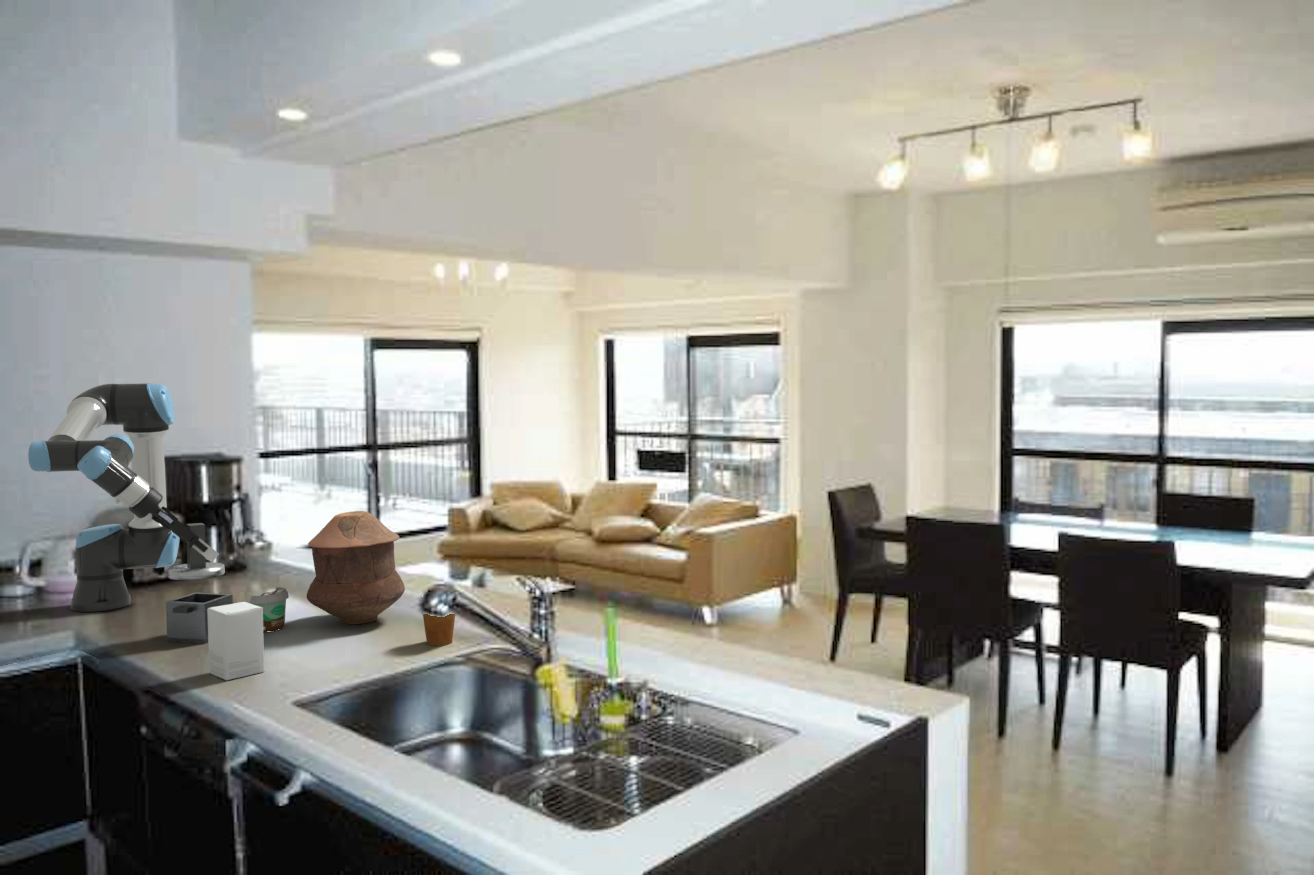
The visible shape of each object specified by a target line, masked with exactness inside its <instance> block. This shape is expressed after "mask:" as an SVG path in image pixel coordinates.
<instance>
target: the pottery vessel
mask: <svg viewBox="0 0 1314 875" xmlns="http://www.w3.org/2000/svg"><path fill="white" fill-rule="evenodd" d="M398 540H400V535H398V534H397V533H395V532H393V530H390V528H388V527H387V526H386V525H385V524H384V523H383V522H382V521H380V520H379V518H377V517H376V516H374V514H373V513H370V512H368V511H367V510H366V511H363V510H355V511H347V512H340V513H338V514H335V515H334V516H333V517H332V518H331V519H330V521H329V522H327V523H326V525H325V526H324V527H323V528H322V529H321V530H319V532H318V533H317V534H316V535H315V536H314V537H313V538H312V539H311V540H310V541H308V543H307V545H308V546H309V547H311V548H312V551H311V552H312V553H311V555H312V560H313V566H314V573H315V577H314V578H313V580H312V582H311V583H310V584H309V587H308V590H307V592H306V599H307V601H308V602H309V604H311V605H313V606H314V607H316V608H319V609H320V610H322V611H323V612H325V613H327V614H329V615H331V616H332V617H334V618H337V619H338V621H339V623H341V624H346V625H360V624H367V623H372V622H374V621H376V620H378V616H379V615H380V614H382V613H383V612H385V611H386V610H388V609H389V608H390V607H391V606H393V605H394V604H395V603H396V602H397V601H398V600H399V599H400V598H401V597H402V596H403V594H404V593H405V591H406V587H405V583H404V582H403V580H402V577H401V576H400V574H399V573H398V572H397V570H396V561H395V542H396V541H398Z"/></svg>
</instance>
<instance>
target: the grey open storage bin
mask: <svg viewBox="0 0 1314 875" xmlns="http://www.w3.org/2000/svg"><path fill="white" fill-rule="evenodd" d="M229 604H234V603H233V594H230V593H215V592H213V593H212V592H210V593H209V592H193V593H189V594H187V595H183V596H180V597H178V598H177V597H176V598H173V599H171V600H167V601H165V611H166V613H165V615H166V617H165V618H166V619H165V620H166V641H167V642H174V641H178V642H177V643H189V642H191V643H190V644H203V645H204V644H205V645H206V644H208V612H207V609H208V608H211V607H216V606H222V605H229Z"/></svg>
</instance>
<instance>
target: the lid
mask: <svg viewBox="0 0 1314 875" xmlns="http://www.w3.org/2000/svg"><path fill="white" fill-rule="evenodd" d="M185 527H187V528H188V529H189V530H190V531H192V532H193V533H194V534H195V535H197V536H199V538H200V539H201V540H203V541H204V542H205V543H206V524H204V523H203V522H198V523H197V522H194V523H186V524H185ZM188 546H189V543H188V542H187V543H186V560H187V561H186V562H187V563H183V564H177V565H174V566H169V568H167V573H168V576H167V578H168V579H170V580H174V581H175V580H176V581H197V580H207V579H213V578H217V577H221V576H223V575H224V574H225V572H226V570H225V569H226V568H225V563H220V562H214V561H212V562H210V561H209V562H206V560H207V559H206V558H205V557H204V556H203V555H202V554H200V553H199V552H198V551H197V550H195V549H194V548H193V547H191V548H189V547H188Z"/></svg>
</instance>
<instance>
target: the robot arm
mask: <svg viewBox="0 0 1314 875" xmlns="http://www.w3.org/2000/svg"><path fill="white" fill-rule="evenodd" d="M66 409H67V410H66V415H65V417H64V418H63V419H62V421H61V422H60V423H59V424H58V426H57V428H55V430H54V431H53V433H52V434H51V436H50V437H49V438H48V440H39V441H37V440H36V441H33V442H31V443H30V445H29V446H28V453H27V454H28V455H27V458H28V459H27V460H28V464H29V467H30V469H31V470H33V471H34V472H47V473H52V472H55V473H56V472H79V471H80V472H81V473H82V474H83V475H84V476H85V478H87V479H88V480H90V481H91V482H93V483H94V484H95V485H97V486H98V487H99V488H101V489H102V490H104V491H105V492H106V493H107V494H109V495H110V496H111V497H112V498H114V499H115V500H114V503H115V504H117V505H119V504H121V505H122V506H123V507H125V508H128V509H129V510H128V511H129V512H131V513H132V514H133V519H132V520H130V522H129V523H128V528H123V526H122V524H120V523H113V524H112V523H111V524H110V523H109V524H103V525H99V526H93V527H89V528H86V529H83V530H80V531H78V532H77V534H76V536H75V546H74V549H75V558H76V559H75V563H76V565H75V566H76V568H75V569H76V583H75V587H74V591H73V594H72V598H71V599H70V610H71V611H73V612H80V613H92V612H93V613H94V612H95V613H96V612H104V611H113V610H116V609H121V608H124V607H128V606H130V605H131V604H132V602H131V601H132V600H131V594H130V592H129V590H128V587H127V584H126V581H125V579H124V570H132V569H133V570H134V569H152V568H155V569H158V568H166V567H172V565H174V564H175V562H176V560H177V556H178V553H179V546H180V540H181V541H183V542H184V543H186V544H187V542H188V543H189V546H188V547H189V548H191V547H193V548H194V549H195V550H197V551H198V552H199V553H200V554H202V555H203V556H204V557H205V558H206V560H208V561H209V562H214V561H215V559H216V558H217V557H218V556H219V555H220V553H218V551H217V550H215V549H214V548H213V547H211V546H210V545H209V544H208V543H206V541H205V542H204V541H203V540H201V539H200V538H199V536H197V535H195V534H194V533H193V532H192V531H190V530H189V529H188V528H187V527H186V525H184V524H183V523H182V522H181V521H179V518H178V517H177V516H175V515H174V514H173V513H172V512H171V510H169V509H168V508H167V507H168V506H167V489H166V488H167V487H166V484H167V483H166V466H165V464H166V463H165V445H164V435H165V434H167V432H168V431H169V430H170V427H169V426H170V425H173V424H174V423H175V419H176V418H175V407H174V402H173V398H172V395H171V392H170V390H169V388H168V387H167V386H166V385H164V384H160V383H159V384H158V383H105V384H101V385H97V386H95V387H94V386H93V387H91V388H89V389H87V390H85V391H83V392H82V393H80V394H78V395H77V396H75V397H74V398H73V399H72V400H71V402H70V403H69V404H68V406H67V408H66ZM105 425H106V426H109V425H115V426H119V425H120V426H122V428H123V433H124V434H125V435H123V434H119V433H118V434H117V433H116V434H111V435H108V436H107V437H105V439H102V440H101V439H98V440H93V439H92V440H89V439H90V437H91V436H92V434H94V432H95V430H96V429H99V428H101V426H105ZM126 435H127V436H128V437H127V436H126ZM129 465H131V466H130V467H131V468H130V467H129Z"/></svg>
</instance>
